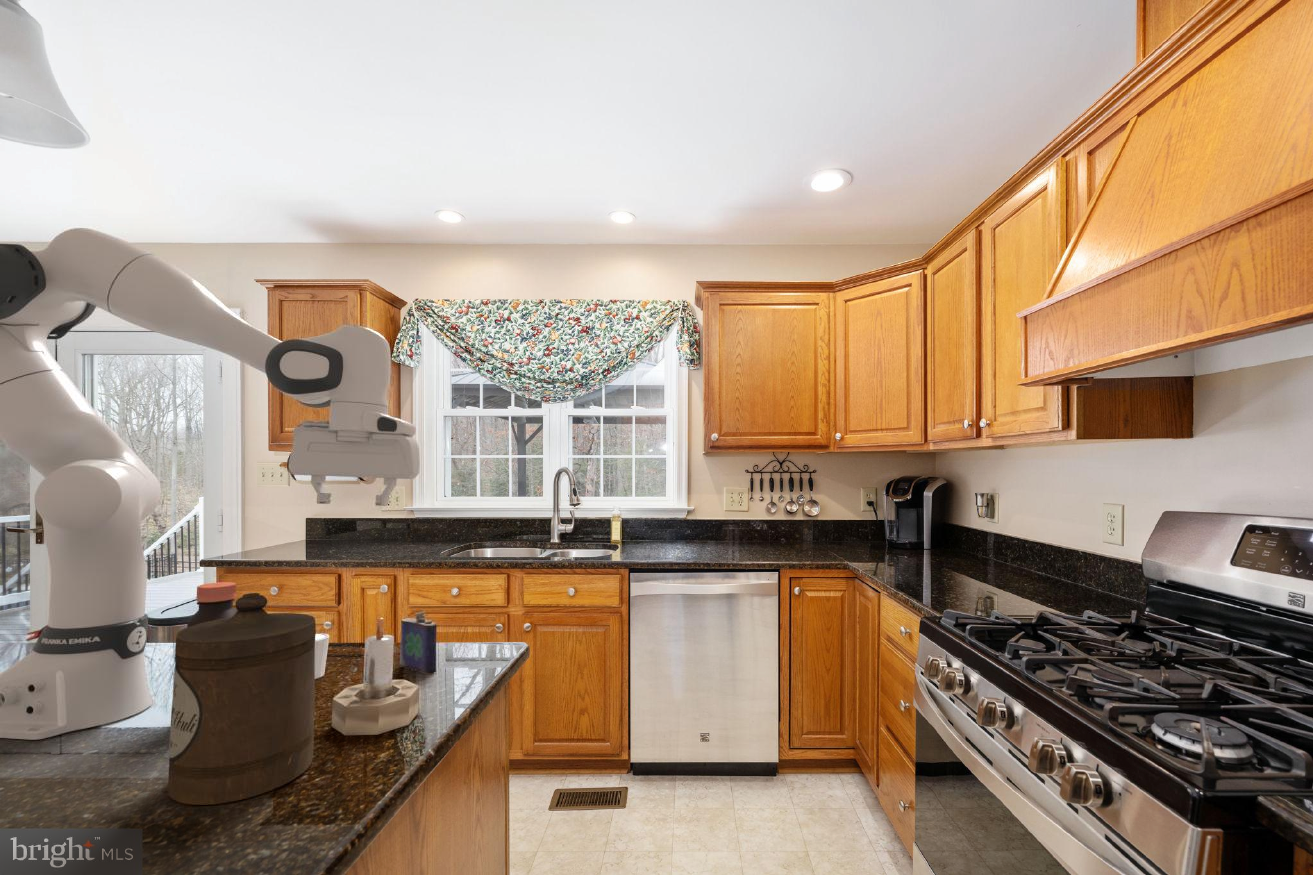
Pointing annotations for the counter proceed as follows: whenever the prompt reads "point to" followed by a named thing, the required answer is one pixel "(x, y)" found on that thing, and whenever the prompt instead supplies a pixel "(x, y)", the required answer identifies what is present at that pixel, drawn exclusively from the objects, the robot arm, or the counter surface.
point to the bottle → (214, 602)
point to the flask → (418, 644)
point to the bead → (375, 709)
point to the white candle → (378, 664)
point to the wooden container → (242, 704)
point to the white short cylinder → (320, 653)
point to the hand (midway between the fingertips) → (352, 504)
